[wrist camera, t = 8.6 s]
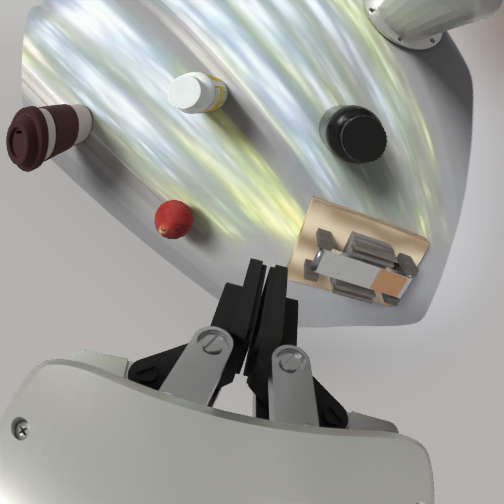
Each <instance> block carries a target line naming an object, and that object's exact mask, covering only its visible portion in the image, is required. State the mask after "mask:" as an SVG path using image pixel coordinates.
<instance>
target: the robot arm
mask: <svg viewBox="0 0 504 504" xmlns="http://www.w3.org/2000/svg"><path fill="white" fill-rule="evenodd" d="M502 4H503V0H363V5H364V9H365V12H366V14H367V16H368V18H369V20H370V21H371V23H372V24H373V25H374V26H375V28H376V29H377V30H378V31H379V32H380V33H381V34H383V35H384V36H385V37H386V38H388V39H389V40H391V41H392V42H394V43H396V44H398V45H400V46H402V47H405V48H408V49H413V50H423V49H428V48H431V47H433V46H435V45H436V44H437V43H438V42H439V41H440V40H441V37H442V35H443V32H444V31H447V30H450V29H453V28H457V27H460V26H463V25H466V24H470V23H473V22H477V21H481V20H484V19H488V18H491V17H493V16H495V15H496V14H497V13H498V12H499V11H500V9H501V7H502ZM370 11H372V12H370ZM398 39H399V40H400V41H399V40H398ZM262 263H263V261H260V260H256V259H252V258H251V260H250V263H249V267H248V270H247V274H246V277H245V281H244V284H243V287H242V286H238V285H234V284H231V283H226V284H225V287H224V290H223V293H222V295H221V298H220V301H219V304H218V306H217V309H216V312H215V315H214V317H213V320H212V323H211V326H208V327H203V328H201V329H199V330H198V331H197V332H196V333H195V334H194V336H193V337H192V339H191V340H190V342H189V343H187V344H185V345H182V346H179V347H176V348H173V349H170V350H167V351H164V352H161V353H158V354H155V355H152V356H149V357H146V358H143V359H140V360H138V361H136V362H132V361H128V359H127V358H122V357H117V356H112V355H107V354H102V353H97V352H93V351H89V350H77V351H75V352H73V353H72V354H71V355H70V356H69V358H68V360H64V359H53V360H46V361H44V362H42V363H40V364H39V365H37V366H36V367H35V368H34V369H33V370H32V371H31V372H30V373H29V374H28V376H27V377H26V378H25V379H24V381H23V382H22V384H21V385H20V386H19V388H18V389H17V391H16V393H15V394H14V396H13V397H12V399H11V401H10V402H9V404H8V406H7V408H6V410H5V412H4V414H3V416H2V418H1V420H0V504H434V482H433V472H432V467H431V462H430V458H429V455H428V452H427V450H426V449H425V447H424V446H423V445H422V444H421V443H419V442H418V441H416V440H414V439H412V438H410V437H407V436H404V435H401V434H399V433H398V429H397V428H396V426H395V425H394V424H393V423H391V422H389V421H385V420H381V419H378V418H374V417H370V416H367V415H363V414H360V413H356V412H353V411H352V412H351V413H349V412H346V410H345V409H344V408H343V407H342V406H341V405H340V403H339V402H338V401H337V400H336V399H335V398H334V397H333V396H332V395H331V394H330V393H329V392H328V391H327V390H326V389H325V388H324V387H323V386H322V385H321V384H320V383H319V382H318V381H317V380H316V379H315V378H314V377H313V376H312V371H311V364H310V360H309V357H308V356H307V354H306V353H305V352H304V351H303V350H302V349H300V348H298V347H297V325H298V300H294V299H290V298H286V291H287V278H288V268H287V267H283V266H279V265H276V266H275V268H274V267H270V269H269V273H268V276H267V279H266V283H265V286H264V289H263V283H264V278H265V273H266V267H267V266H266V265H262ZM262 289H263V292H262ZM261 294H262V295H261ZM248 348H249V350H248ZM247 351H248V354H247V359H246V364H245V369H244V374H243V375H244V376H248V378H247V383H248V386H249V387H250V389H251V390H252V391H253V392H254V393H253V417H250V416H245V415H241V414H236V413H232V412H227V411H223V410H219V409H216V408H213V406H214V404H215V402H216V400H217V398H218V396H219V394H220V392H221V389H222V387H223V386H225V385H227V384H229V383H231V382H233V379H234V376H235V373H236V374H240V371H241V368H242V365H243V362H244V359H245V356H246V353H247Z"/></svg>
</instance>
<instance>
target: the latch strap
mask: <svg viewBox="0 0 504 504" xmlns="http://www.w3.org/2000/svg"><path fill="white" fill-rule="evenodd" d="M310 269H311V270H312V271H313V272H316V273H319V274H322V275H325V276H329V277H332V278H335V279H338V280H342V281H345V282H348V283H351V284H355V285H358V286H361V287H365V288H368V289H371V290H374V291H378V292H381V293H384V294H387V295H391V296H394V297H397V298H401V296H402V295H403V293H404V292H405V290H406V289H407V287H408V286H409V284H410V283H411V281H412V277H411V275H408V274H405V273H403V272H400V271H397V270H394V269H391V268H388V267H385V266H382V265H380V264H377V263H374V262H371V261H368V260H365V259H362V258H359V257H356V256H352V255H350V254H347V253H344V252H341V251H338V250H335V249H332V250H331V251H329V250H325V249H322V248H319V247H318V250H317V252H316V254H315V257H314V259H313V261H312V264H311V266H310Z"/></svg>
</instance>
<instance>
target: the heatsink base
mask: <svg viewBox="0 0 504 504" xmlns="http://www.w3.org/2000/svg"><path fill="white" fill-rule="evenodd" d="M429 244H430V243H429V242H428V241H427V239H426V238H424V237H422V236H420V235H417V234H415V233H412V232H410V231H408V230H405V229H403V228H400V227H397V226H395V225H392V224H390V223H387V222H385V221H382V220H379V219H377V218H374V217H371V216H368V215H366V214H363V213H360V212H357V211H355V210H352V209H349V208H346V207H343V206H340V205H337V204H334V203H331V202H328V201H325V200H322V199H319V198H316V197H312V200H311V203H310V206H309V209H308V211H307V214H306V217H305V220H304V222H303V225H302V228H301V231H300V233H299V236H298V239H297V241H296V244H295V247H294V249H293V252H292V255H291V257H290V260H289V263H288V265H287V268H288V278H287V279H289V280H293V281H296V282H300V283H303V284H307V285H311V286H314V287H318V288H322V289H326V290H329V291H332V292H333V293H335V294H338V295H342V296H346V297H350V298H354V299H357V300H361V301H365V302H369V303H372V302H375V303H379V304H383V305H386V306H390V307H391V306H392V305H395V306H396V305H397V303H398V302H399V298H397V297H394V296H391V295H387V294H384V293H381V292H378V291H374V290H371V289H368V288H365V287H361V286H358V285H355V284H351V283H348V282H345V281H342V280H338V279H335V278H332V277H329V276H325V275H322V274H319V273H316V272H313V271H312V270H311V269H310V266H311V264H312V261H313V259H314V257H315V254H316V252H317V250H318V247H319V248H322V249H325V250H329V251H331V250H332V249H335V250H338V251H341V252H344V253H347V254H350V255H352V256H356V257H359V258H362V259H365V260H368V261H371V262H374V263H377V264H380V265H382V266H385V267H388V268H391V269H394V270H397V271H400V272H403V273H405V274H408V275H411V276H416V274H417V273H418V271H419V270H418V268H417V266H418V264H419V262H420V260H421V259H422V257H423V255H424V253H425V252H426V250H427V248H428V246H429Z"/></svg>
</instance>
